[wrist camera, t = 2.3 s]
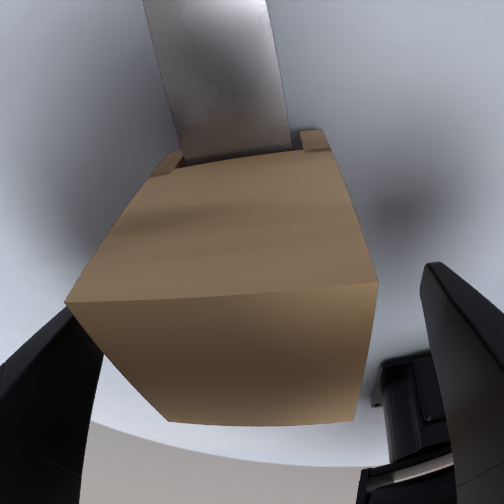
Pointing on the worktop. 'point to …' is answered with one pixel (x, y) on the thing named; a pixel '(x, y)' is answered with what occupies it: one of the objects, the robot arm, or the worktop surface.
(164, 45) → the rail
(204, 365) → the block
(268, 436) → the worktop surface
